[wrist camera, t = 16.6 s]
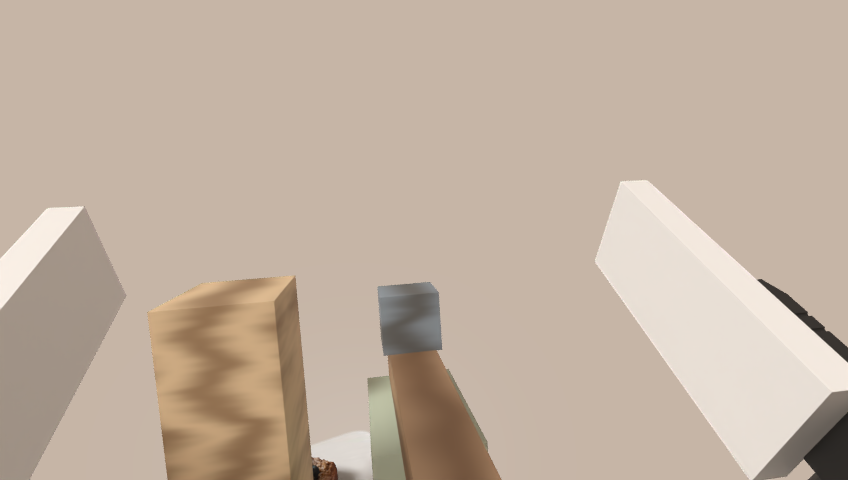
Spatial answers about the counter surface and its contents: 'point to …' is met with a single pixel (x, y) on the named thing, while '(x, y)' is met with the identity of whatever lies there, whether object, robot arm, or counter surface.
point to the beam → (427, 391)
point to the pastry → (324, 470)
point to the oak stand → (232, 382)
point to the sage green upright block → (392, 430)
